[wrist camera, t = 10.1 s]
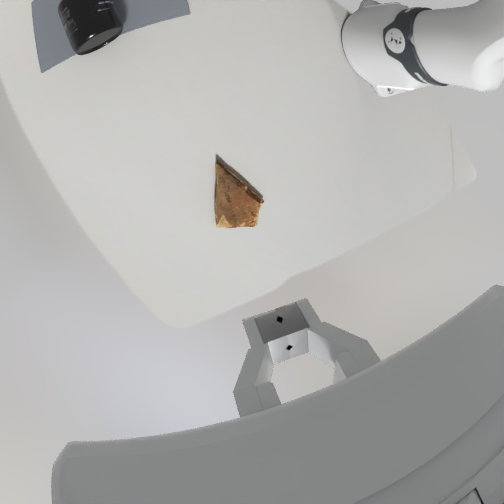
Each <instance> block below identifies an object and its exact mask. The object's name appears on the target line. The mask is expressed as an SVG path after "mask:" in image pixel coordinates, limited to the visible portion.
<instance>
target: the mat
mask: <svg viewBox="0 0 504 504" xmlns="http://www.w3.org/2000/svg"><path fill="white" fill-rule="evenodd" d="M60 1H61V0H35V1H33V2H32V3H31V4H32V17H33V26H34V34H35V41H36V48H37V54H38V59H39V64H40V69H41V73H43V72H45V71H47V70H48V69H50V68H52V67H53V66H55V65H57V64H59V63H61V62H62V61H64V60H66V59H68V58H70V57H72V56H74V55H76V54H75V53H74V51H73V49H72V47H71V44H70V42H69V39H68V37H67V35H66V32H65V30H64V27H63V24H62V22H61V19H60V17H59V14H58V5H59V3H60ZM112 1H113V3H114V5H115V7H116V10H117V12H118V14H119V16H120V19H121V21H122V23H123V27H124V28H123V31H122V33H121V34H124V33H126V32H129V31H132V30H135V29H138V28H141V27H144V26H147V25H150V24H154V23H157V22H160V21H164V20H168V19H172V18H175V17H180V16H184V15H188V14H190V11H189V7H188V3H187V0H112ZM121 34H120V35H121Z"/></svg>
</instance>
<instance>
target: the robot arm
mask: <svg viewBox="0 0 504 504" xmlns="http://www.w3.org/2000/svg"><path fill="white" fill-rule="evenodd" d="M342 43H343V48H344V52H345V54H346V57H347V59H348V61H349V63H350V64H351V66H352V67H353V69H354V70H355V71H356V72H357V73H358V74H359V75H360V76H361V77H362V78H364V79H365V80H366V81H368V82H369V83H370V84H371V85H372V86H373V88H374V89H375V91H376V92H377V94H378V95H379V96H381V97H388V96H392V95H395V94H399V93H403V92H406V91H410V90H414V89H418V88H422V87H426V86H430V85H434V86H447V85H454V86H459V87H464V88H468V89H472V90H476V91H480V92H489V91H493V90H495V89H497V88H498V87H499V86H500V85H501V84H502V83H503V81H504V0H479V1H478V2H476V3H474V4H471V5H469V6H464V7H456V8H447V9H436V10H432V9H430V8H421V7H414V8H410V9H409V8H408V7H407V6H403V5H401V4H400V3H386V4H380V3H378V2H375V1H372V0H363V1H362V3H361V5H360V7H359V9H358V10H357V11H356V12H355V13H353V14H351V15H350V16H349V17H348V18H347V20H346V21H345V23H344V26H343V30H342ZM242 321H243V325H244V327H245V331H246V333H247V336H248V339H249V342H250V345H251V349H249V350H248V352H247V355H246V358H245V361H244V363H243V366H242V369H241V372H240V374H239V377H238V380H237V383H236V385H235V388H234V391H233V393H234V397H235V400H236V404H237V407H238V411H239V415H240V418H237V419H233V420H229V421H225V422H221V423H217V424H213V425H209V426H205V427H200V428H195V429H190V430H185V431H180V432H174V433H168V434H163V435H155V436H149V437H140V438H131V439H120V440H106V441H74V442H69V443H68V444H67V445H66V446H65V447H64V449H63V450H62V451H61V453H60V454H59V456H58V457H57V459H56V461H55V462H54V465H53V469H52V478H51V482H52V483H51V488H52V504H504V287H503V286H499V285H494V286H492V287H491V288H489V289H488V290H487V291H486V292H485V293H483V294H482V295H481V296H480V297H478V298H477V299H476V300H475V301H473V302H472V303H471V304H470V305H468V306H467V307H465V308H464V309H463V310H461V311H460V312H459V313H457V314H456V315H455V316H453V317H452V318H450V319H449V320H447V321H446V322H445V323H443V324H442V325H440V326H439V327H437V328H436V329H434V330H433V331H431V332H430V333H428V334H426V335H425V336H423V337H422V338H420V339H418V340H417V341H415V342H414V343H412V344H410V345H409V346H407V347H405V348H403V349H402V350H400V351H398V352H397V353H395V354H393V355H391V356H389V357H387V358H386V359H384V360H382V361H381V360H380V359H379V357H378V356H377V354H376V353H375V351H374V350H373V348H372V347H371V346H370V344H369V343H368V341H367V340H365V339H362V338H360V337H358V336H355V335H353V334H351V333H349V332H346V331H344V330H342V329H340V328H337V327H335V326H333V325H331V324H329V323H327V322H321V321H320V319H319V318H318V316H317V314H316V313H315V311H314V309H313V308H312V306H311V305H310V303H309V301H308V300H307V299H306V298H304V299H301V300H299V301H296V302H293V303H290V304H287V305H285V306H282V307H279V308H276V309H274V310H271V311H268V312H265V313H262V314H259V315H255V316H253V317H249V318H247V319H243V320H242ZM307 352H309V353H310V354H311V355H313V356H314V357H316V358H317V359H319V360H321V361H322V362H324V363H326V364H327V365H329V366H330V367H332V368H334V369H335V371H334V380H333V384H332V385H330V386H328V387H325V388H323V389H321V390H318V391H316V392H313V393H311V394H308V395H306V396H303V397H300V398H298V399H295V400H292V401H290V402H287V403H284V404H281V402H280V400H279V397H278V395H277V392H276V390H275V387H274V385H273V383H271V382H270V380H271V376H272V371H273V367H274V365H275V364H277V363H280V362H283V361H285V360H288V359H290V358H293V357H296V356H299V355H302V354H305V353H307Z"/></svg>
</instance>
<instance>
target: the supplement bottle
mask: <svg viewBox="0 0 504 504" xmlns="http://www.w3.org/2000/svg"><path fill="white" fill-rule="evenodd" d="M58 14H59V17H60V19H61V22H62V24H63V27H64V30H65V32H66V35H67V37H68V39H69V42H70V44H71V47H72V49H73V51H74V53H75V54H77V55H84V54H88V53H91V52H93V51H95V50H98V49H100V48H101V47H103V46H105V45H107V44H108V43H110V42H111V41H113V40H114V39H116V38H117V37H118V36H119V35H120V34H121V33H122V31H123V28H124V27H123V23H122V21H121V19H120V16H119V14H118V12H117V10H116V7H115V5H114V3H113V1H112V0H61V1H60V3H59V5H58Z"/></svg>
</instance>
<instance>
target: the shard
mask: <svg viewBox="0 0 504 504" xmlns="http://www.w3.org/2000/svg"><path fill="white" fill-rule="evenodd" d="M216 174H217V188H216V201H215V206H216V209H215V215H216V220H217V221H216V222H217V223H216V226H217V227H220V228H222V227H223V228H236V227H255V226H257V222H258V214H259V210H260V207H261V204H262V203H263V202H264V200H263V199H262V198H260V197H259V196H258V195H257V194H256V193H254V191H252V190H251V189H250V188H248V186H247V185H245V184H244V183H243V181H241V180H240V179H239V178H238V177H237V176H236V175H234V174H233V173H232V172H231V171H230V170H228V169H227V168H225V167H224V166H223V164H221V163H220V162H219V161H217V162H216Z"/></svg>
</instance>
